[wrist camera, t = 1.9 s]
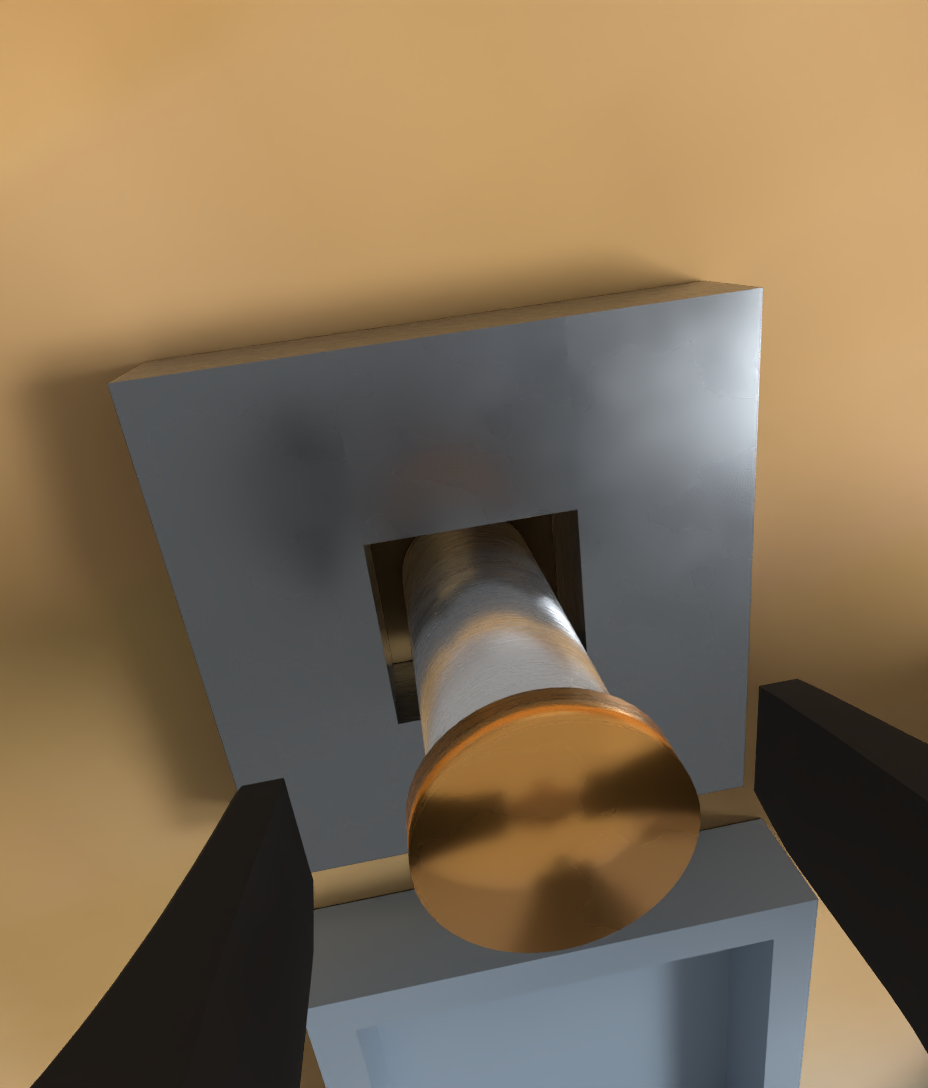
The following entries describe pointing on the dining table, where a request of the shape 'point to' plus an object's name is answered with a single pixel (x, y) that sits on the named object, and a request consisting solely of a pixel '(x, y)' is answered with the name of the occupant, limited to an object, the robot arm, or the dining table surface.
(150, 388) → the grey square frame
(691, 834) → the pin
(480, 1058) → the tray
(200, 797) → the dining table surface
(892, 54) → the dining table surface
